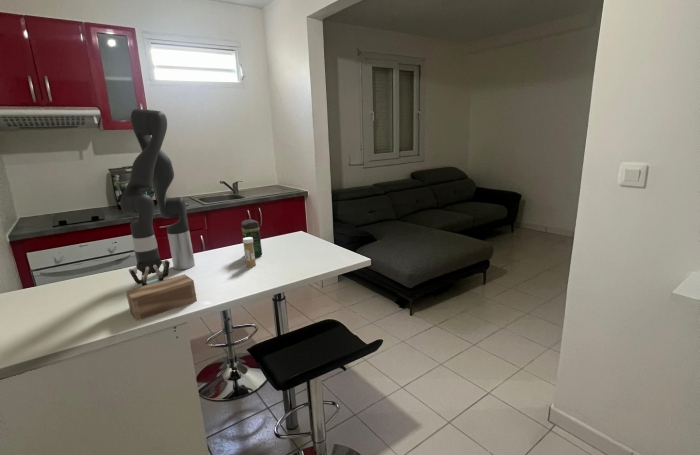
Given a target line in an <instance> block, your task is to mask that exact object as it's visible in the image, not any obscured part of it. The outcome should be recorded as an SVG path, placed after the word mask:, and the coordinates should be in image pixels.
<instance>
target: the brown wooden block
mask: <svg viewBox="0 0 700 455" xmlns="http://www.w3.org/2000/svg"><path fill="white" fill-rule="evenodd" d="M195 288H196V287H195V282H194V279H193V278H191V277H189V276H188V275H186V273H185V274H181V275H176V276H173V277H170V278H166V279H164V280H163V281H159V282H156V283H152V284H149V285H145V286H142V285H141V286H138V287H136V288H131V289H128V290H125V293H126V298H127V303H128V307H129V308H128V309H129V312H130V314H131V315H132V316H133V318H134V319H135V320H136V321H137V322H138V321H141V320H144V319H147V318H150V317H153V316H156V315H159V314H163V313H165V312H168V311H171V310H173V309H177V308H179V307H183V306H185V305H188V304H190V303H194V302H197V301H198V299H197V293H196V289H195Z"/></svg>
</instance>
